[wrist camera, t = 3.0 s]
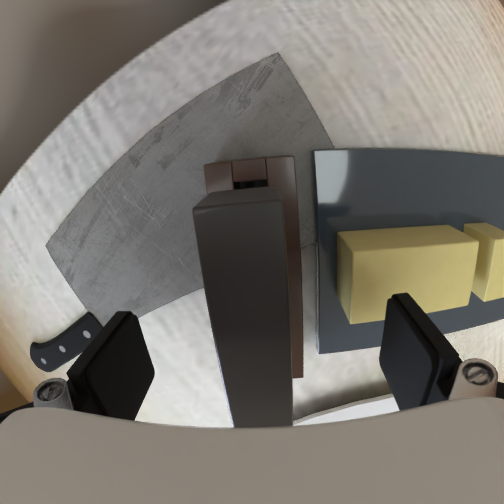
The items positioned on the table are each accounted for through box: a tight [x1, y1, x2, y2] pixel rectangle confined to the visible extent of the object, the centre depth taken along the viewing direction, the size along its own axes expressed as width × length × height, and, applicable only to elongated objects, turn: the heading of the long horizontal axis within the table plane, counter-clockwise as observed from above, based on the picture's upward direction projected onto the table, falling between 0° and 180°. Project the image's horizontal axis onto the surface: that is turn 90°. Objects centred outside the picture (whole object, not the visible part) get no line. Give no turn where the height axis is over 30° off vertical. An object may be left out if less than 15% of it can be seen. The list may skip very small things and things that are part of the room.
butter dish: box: [311, 148, 504, 354], centre depth 16 cm, size 16×12×1 cm
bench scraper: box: [192, 180, 293, 428], centre depth 13 cm, size 2×10×9 cm, turn 5°
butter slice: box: [463, 223, 504, 302], centre depth 14 cm, size 2×4×3 cm, turn 6°
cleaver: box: [30, 53, 335, 372], centre depth 17 cm, size 29×1×10 cm
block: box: [203, 155, 303, 378], centre depth 15 cm, size 4×12×3 cm, turn 5°
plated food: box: [293, 394, 400, 426], centre depth 23 cm, size 30×30×3 cm
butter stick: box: [337, 225, 479, 324], centre depth 14 cm, size 7×4×3 cm, turn 96°
